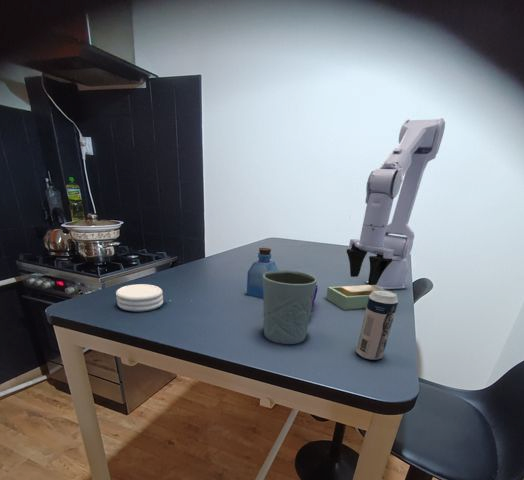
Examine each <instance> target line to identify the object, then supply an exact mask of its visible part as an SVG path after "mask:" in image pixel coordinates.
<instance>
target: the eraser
mask: <svg viewBox="0 0 524 480" xmlns="http://www.w3.org/2000/svg"><path fill="white" fill-rule="evenodd" d="M364 285H365V286H357V285H346V286H347V287H341V288H340V293H342V294H344V295H346V296H359V295H370V294H371V293H372V292H373V290H377V289H378V288H376V287H374V286H372V285H368V284H364ZM378 290H380V289H378Z"/></svg>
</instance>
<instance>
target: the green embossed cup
mask: <svg viewBox="0 0 524 480" xmlns="http://www.w3.org/2000/svg"><path fill="white" fill-rule="evenodd" d="M317 282H318V278H317V277H316V276H315V275H313V274H310V273H307V272H304V271H298V270H288V269H287V270H286V269H278V270H276V271H269V272H266V273H264V274H263V292H264V296H263V298H262V299H263V317H264V318H263V335H264V337H265V338H266V339H267V340H269V341H271V342H274V343H276V344H283V345H297V344H301V343H302V342H303V341H305V339H306V337H307V333H308V328H309V322H310V318H311V314H312V313H311V312H312V309H313V307H312V300H313V296H314V293H315V288H316V285H317V284H318V283H317Z"/></svg>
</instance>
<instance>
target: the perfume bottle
mask: <svg viewBox="0 0 524 480" xmlns="http://www.w3.org/2000/svg"><path fill="white" fill-rule="evenodd" d="M258 251H259V252H258V253H257V258H258V260H256V261H253V263H252V264H251V266H250V267H249V269H248V271H247V278H246V295H247V296H251V297H256V298H260V299H263V296H264V292H263V274H264V273H266V272H269V271H276V270H279V268H278V267H277V265H276V263H275V261H271V259H272V253H271V252H272V248H269V247H259V248H258Z"/></svg>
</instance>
